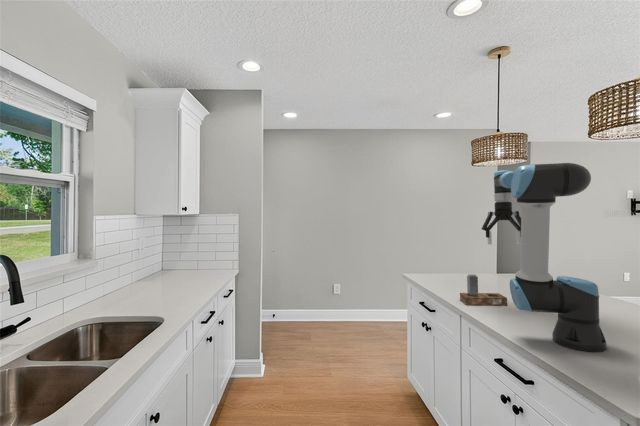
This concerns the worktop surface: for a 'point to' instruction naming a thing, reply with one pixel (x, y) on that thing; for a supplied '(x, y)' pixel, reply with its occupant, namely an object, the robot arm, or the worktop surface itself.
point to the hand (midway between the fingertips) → (504, 244)
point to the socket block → (484, 299)
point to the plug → (472, 285)
